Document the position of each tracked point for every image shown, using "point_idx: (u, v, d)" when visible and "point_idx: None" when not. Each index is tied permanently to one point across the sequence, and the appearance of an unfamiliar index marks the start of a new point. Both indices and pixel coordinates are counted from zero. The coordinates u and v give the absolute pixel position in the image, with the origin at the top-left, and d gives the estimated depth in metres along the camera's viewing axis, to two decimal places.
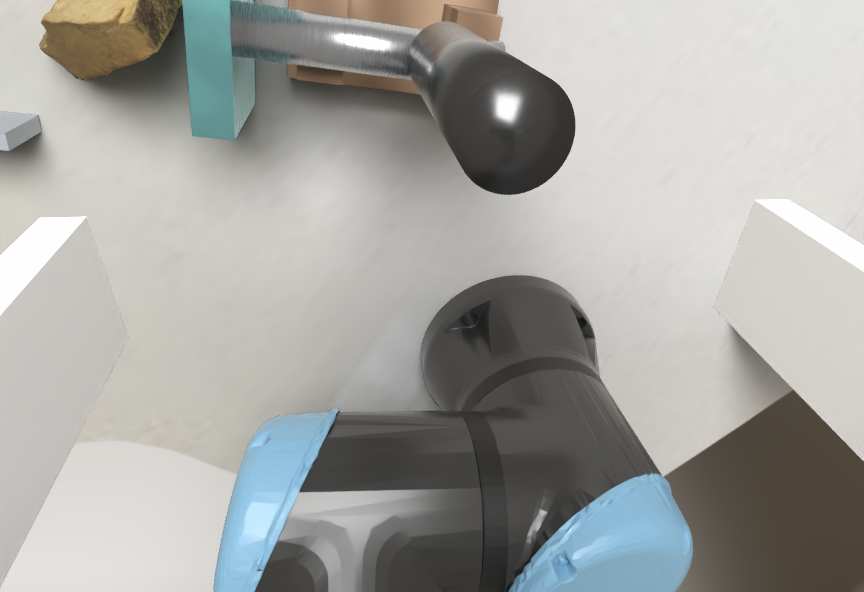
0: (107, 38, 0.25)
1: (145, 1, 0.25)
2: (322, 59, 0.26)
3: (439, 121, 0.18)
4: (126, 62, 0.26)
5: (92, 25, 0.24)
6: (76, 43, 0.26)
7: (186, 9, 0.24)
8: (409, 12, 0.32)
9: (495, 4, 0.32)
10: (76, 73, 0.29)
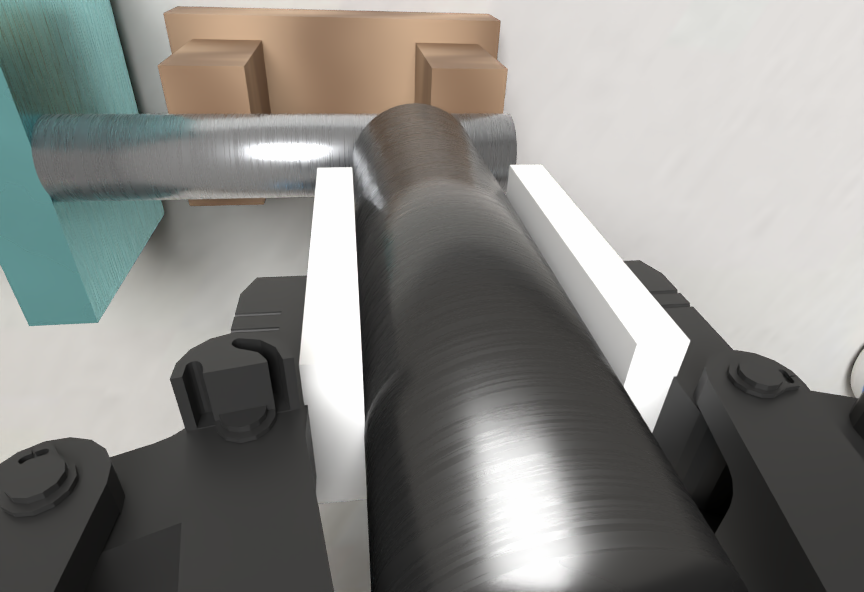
0: None
1: None
2: (207, 191, 0.15)
3: None
4: None
5: None
6: None
7: None
8: (363, 63, 0.21)
9: (495, 33, 0.21)
10: None
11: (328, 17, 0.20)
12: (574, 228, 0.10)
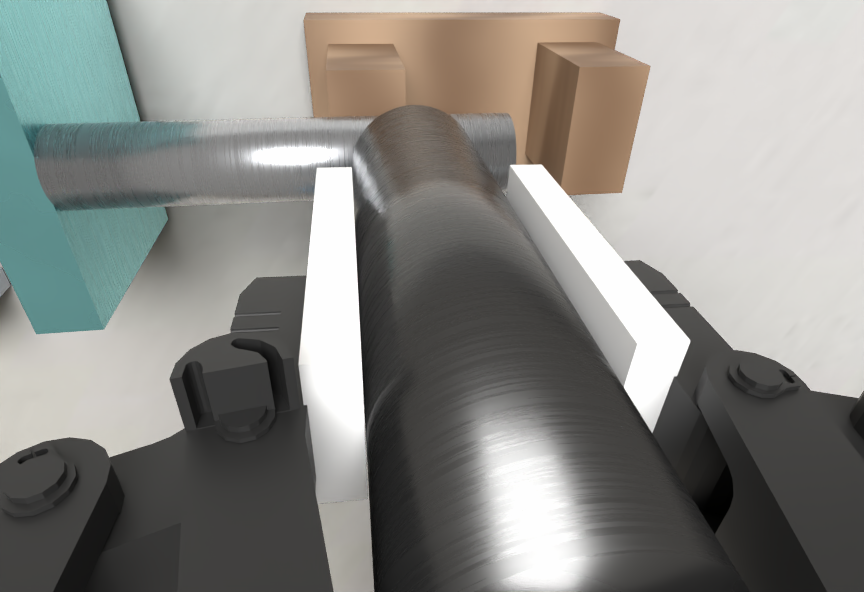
0: None
1: None
2: (209, 197, 0.16)
3: None
4: None
5: None
6: None
7: None
8: (486, 63, 0.21)
9: (614, 31, 0.21)
10: None
11: (457, 20, 0.20)
12: (574, 228, 0.10)
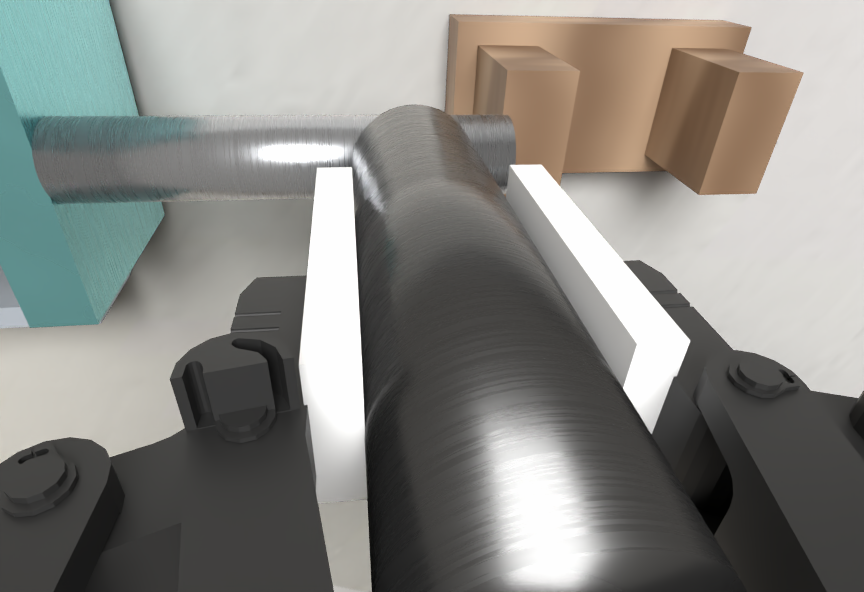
0: None
1: None
2: (208, 193, 0.15)
3: None
4: None
5: None
6: None
7: None
8: (621, 67, 0.22)
9: (744, 38, 0.22)
10: None
11: (600, 24, 0.21)
12: (574, 228, 0.10)
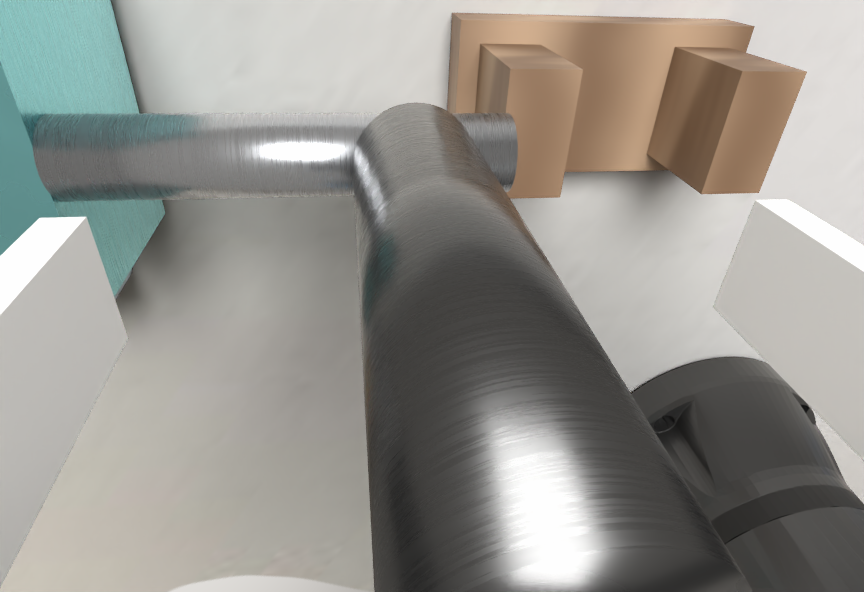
0: None
1: None
2: (209, 191, 0.15)
3: None
4: None
5: None
6: None
7: None
8: (624, 66, 0.22)
9: (747, 37, 0.22)
10: None
11: (603, 23, 0.21)
12: None
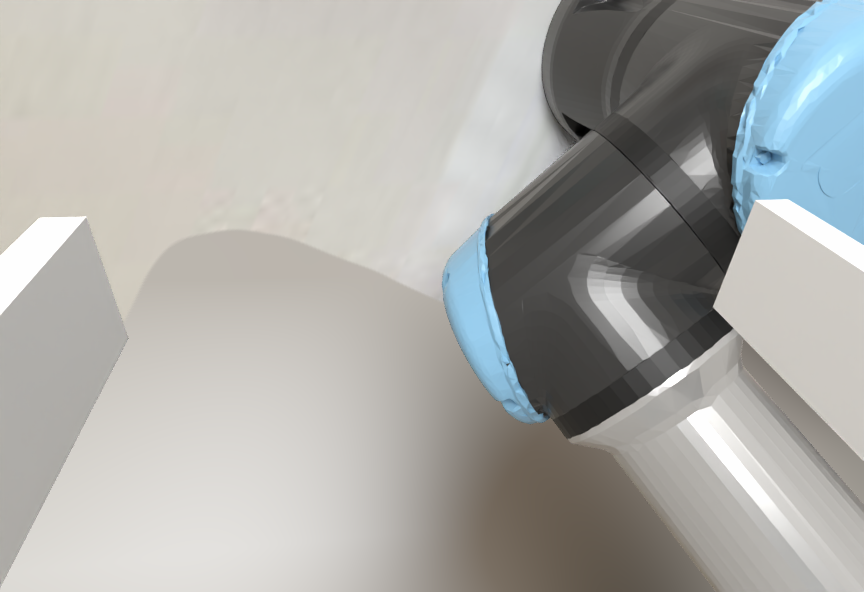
0: None
1: None
2: None
3: None
4: None
5: None
6: None
7: None
8: None
9: None
10: None
11: None
12: None
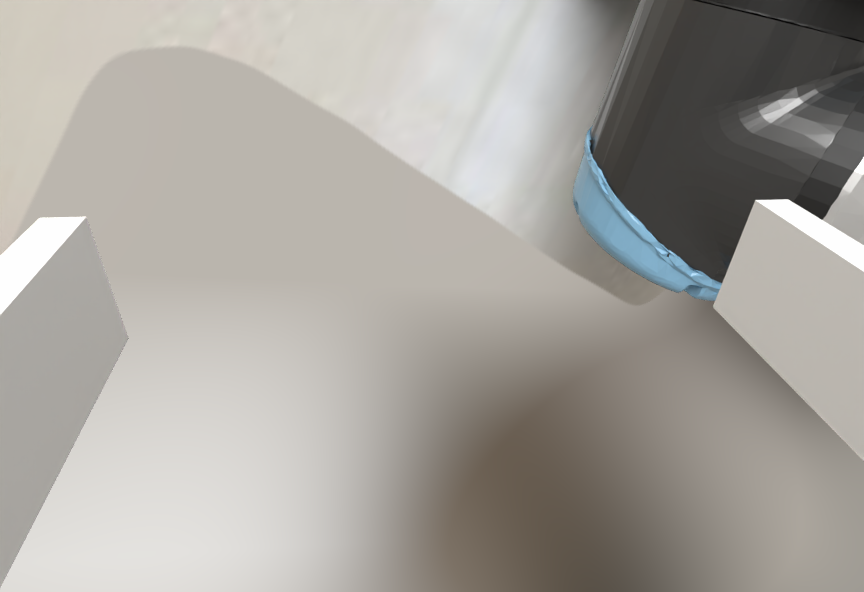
0: None
1: None
2: None
3: None
4: None
5: None
6: None
7: None
8: None
9: None
10: None
11: None
12: None
